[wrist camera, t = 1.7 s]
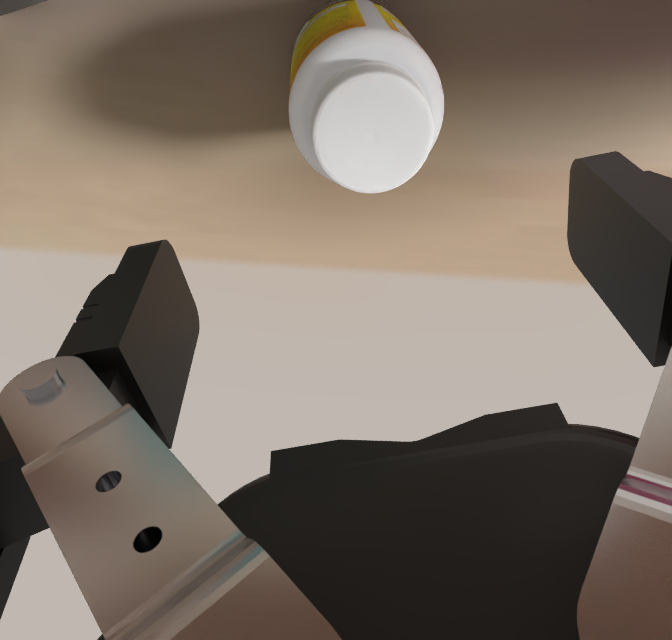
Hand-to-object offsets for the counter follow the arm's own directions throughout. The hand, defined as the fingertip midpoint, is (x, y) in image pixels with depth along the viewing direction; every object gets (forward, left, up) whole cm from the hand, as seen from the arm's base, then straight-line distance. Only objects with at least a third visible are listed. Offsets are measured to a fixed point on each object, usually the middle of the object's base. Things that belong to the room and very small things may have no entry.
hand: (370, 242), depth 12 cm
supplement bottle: (-1, +1, -19) cm, 19 cm away
